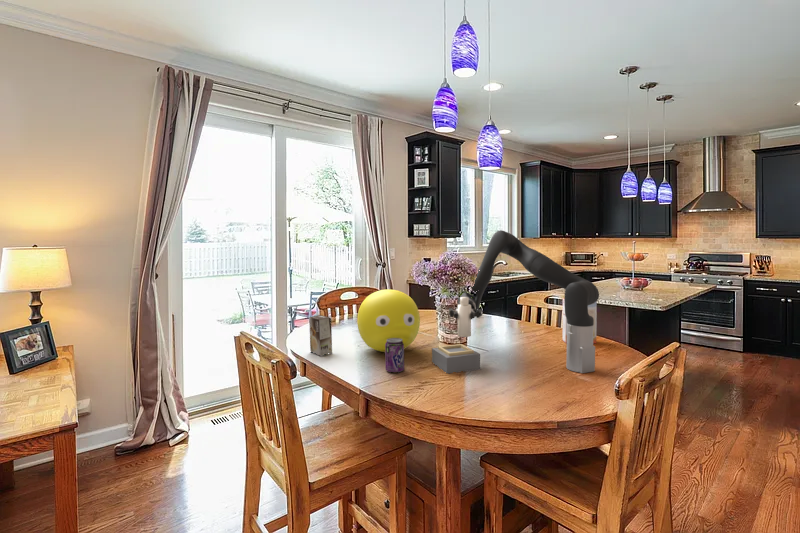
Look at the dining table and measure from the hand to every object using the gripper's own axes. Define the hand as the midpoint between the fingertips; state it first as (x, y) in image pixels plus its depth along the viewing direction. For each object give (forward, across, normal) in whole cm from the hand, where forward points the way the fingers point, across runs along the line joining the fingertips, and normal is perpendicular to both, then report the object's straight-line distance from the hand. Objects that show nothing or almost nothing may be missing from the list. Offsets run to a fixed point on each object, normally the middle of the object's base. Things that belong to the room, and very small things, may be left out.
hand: (463, 316), depth 162 cm
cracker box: (-47, +51, +21) cm, 72 cm away
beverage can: (+9, -25, +20) cm, 34 cm away
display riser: (-1, -3, +20) cm, 20 cm away
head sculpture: (-17, -34, +21) cm, 43 cm away
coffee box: (-9, -63, +21) cm, 67 cm away
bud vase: (-3, 0, +8) cm, 8 cm away
